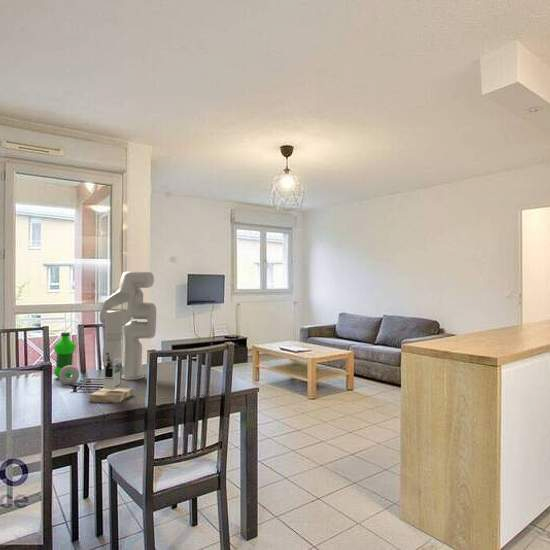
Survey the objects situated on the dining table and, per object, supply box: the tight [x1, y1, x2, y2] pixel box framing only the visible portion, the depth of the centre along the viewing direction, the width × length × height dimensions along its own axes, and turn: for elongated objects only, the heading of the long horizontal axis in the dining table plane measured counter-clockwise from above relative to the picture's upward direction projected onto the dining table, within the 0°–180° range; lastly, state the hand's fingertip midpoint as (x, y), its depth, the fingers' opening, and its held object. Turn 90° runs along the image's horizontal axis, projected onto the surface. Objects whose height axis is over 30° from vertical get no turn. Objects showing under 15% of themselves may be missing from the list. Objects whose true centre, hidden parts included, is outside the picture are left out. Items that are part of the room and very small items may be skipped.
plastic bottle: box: [53, 331, 76, 379], centre depth 232 cm, size 10×10×25 cm
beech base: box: [88, 387, 134, 404], centre depth 196 cm, size 14×14×3 cm
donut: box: [58, 365, 80, 385], centre depth 218 cm, size 10×4×10 cm, turn 98°
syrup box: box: [102, 357, 122, 390], centre depth 196 cm, size 6×6×14 cm
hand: (112, 375), depth 196 cm, fingers closed on syrup box, 6 cm apart
